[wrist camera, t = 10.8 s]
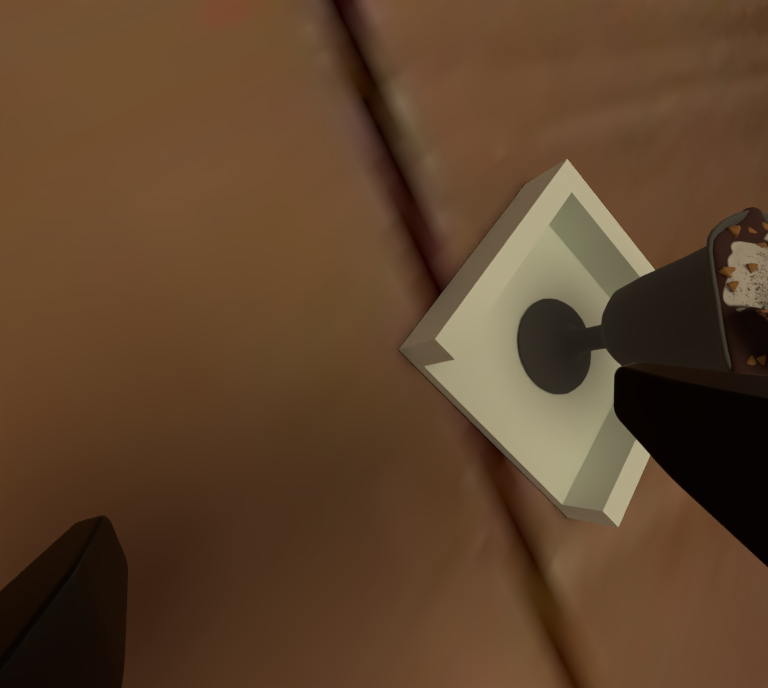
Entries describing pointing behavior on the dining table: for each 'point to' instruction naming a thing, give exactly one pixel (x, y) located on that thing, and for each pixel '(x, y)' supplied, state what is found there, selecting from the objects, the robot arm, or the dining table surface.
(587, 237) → the end cap
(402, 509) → the dining table surface
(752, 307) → the sundae
